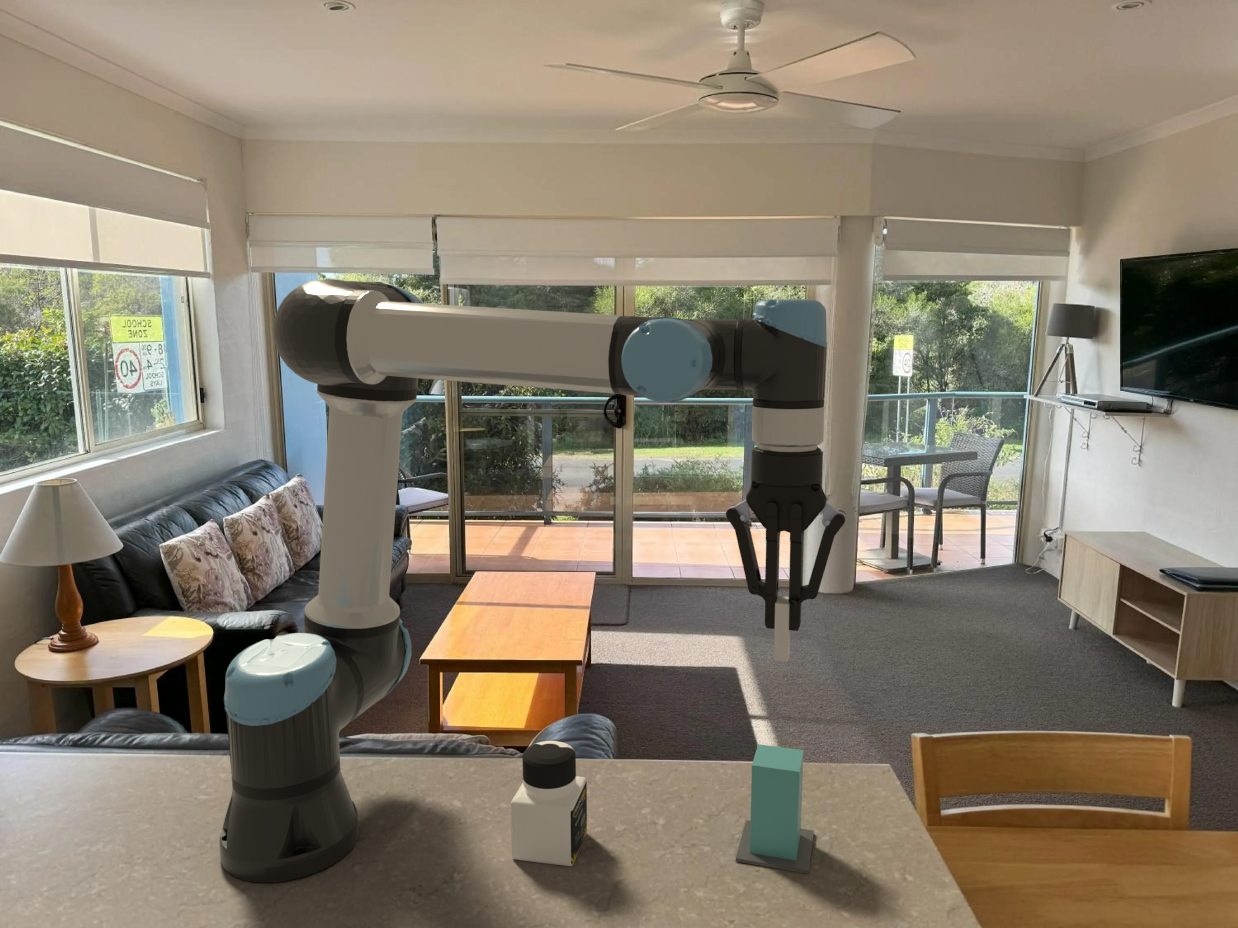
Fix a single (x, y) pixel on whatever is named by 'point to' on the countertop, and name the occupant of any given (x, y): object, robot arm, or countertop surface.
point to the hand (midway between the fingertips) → (781, 656)
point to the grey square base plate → (776, 862)
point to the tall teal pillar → (776, 801)
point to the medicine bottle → (549, 806)
